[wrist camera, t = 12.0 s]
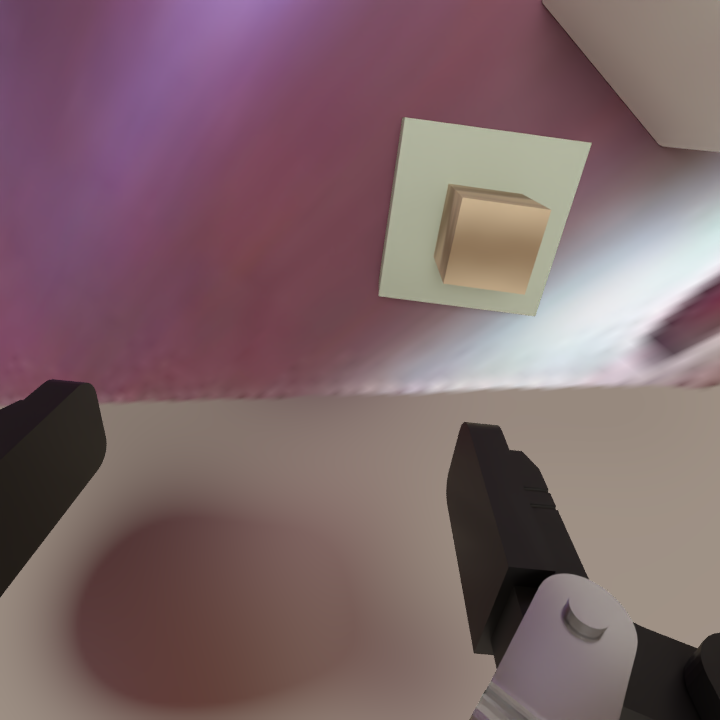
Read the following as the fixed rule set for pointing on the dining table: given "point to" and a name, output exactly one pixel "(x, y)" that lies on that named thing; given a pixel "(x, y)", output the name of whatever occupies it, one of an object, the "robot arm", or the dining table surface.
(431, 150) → the sage plinth
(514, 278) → the maple block
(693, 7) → the gable box
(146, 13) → the dining table surface
